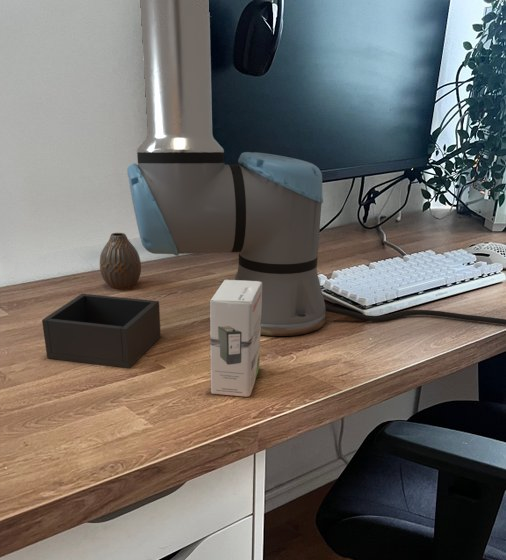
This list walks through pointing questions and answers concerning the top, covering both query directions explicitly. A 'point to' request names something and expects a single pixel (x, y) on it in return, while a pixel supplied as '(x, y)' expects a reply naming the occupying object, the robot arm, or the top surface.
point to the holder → (102, 330)
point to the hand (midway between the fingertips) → (126, 184)
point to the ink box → (235, 337)
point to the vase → (120, 262)
